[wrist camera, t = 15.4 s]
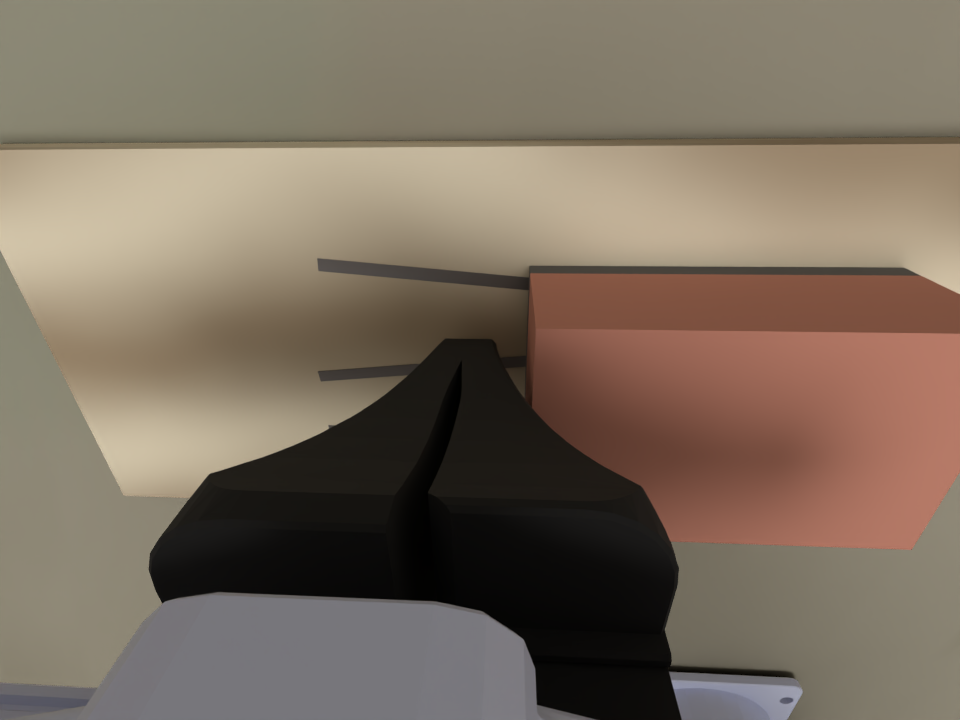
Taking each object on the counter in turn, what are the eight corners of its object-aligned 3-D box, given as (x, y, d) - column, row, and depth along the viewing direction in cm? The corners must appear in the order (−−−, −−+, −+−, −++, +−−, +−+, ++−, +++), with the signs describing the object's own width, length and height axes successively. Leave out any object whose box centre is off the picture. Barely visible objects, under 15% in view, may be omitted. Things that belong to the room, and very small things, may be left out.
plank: (832, 489, 15) (856, 520, 14) (148, 469, 16) (123, 496, 15) (995, 136, 10) (1050, 143, 9) (0, 143, 11) (-51, 150, 10)
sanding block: (825, 449, 13) (911, 549, 10) (522, 442, 13) (525, 536, 11) (904, 267, 11) (1044, 334, 8) (529, 265, 11) (535, 328, 8)
